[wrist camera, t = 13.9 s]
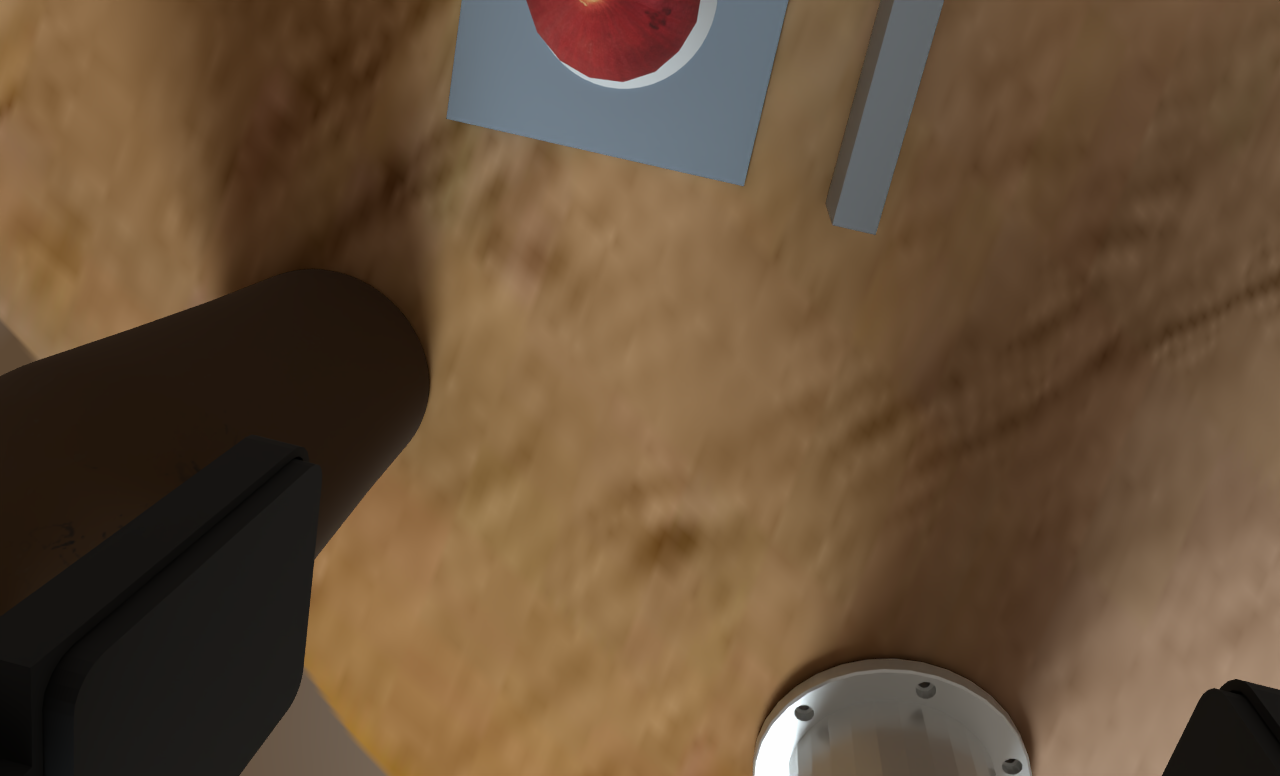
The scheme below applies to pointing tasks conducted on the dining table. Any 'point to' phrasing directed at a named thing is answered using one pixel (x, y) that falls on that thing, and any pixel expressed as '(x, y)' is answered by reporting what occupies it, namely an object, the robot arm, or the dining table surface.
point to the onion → (614, 33)
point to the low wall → (881, 111)
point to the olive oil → (202, 412)
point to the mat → (624, 88)
